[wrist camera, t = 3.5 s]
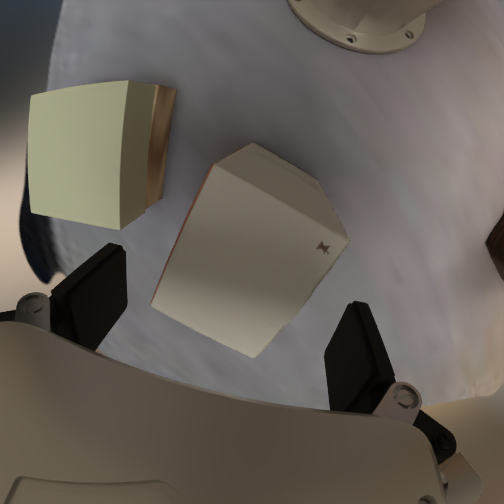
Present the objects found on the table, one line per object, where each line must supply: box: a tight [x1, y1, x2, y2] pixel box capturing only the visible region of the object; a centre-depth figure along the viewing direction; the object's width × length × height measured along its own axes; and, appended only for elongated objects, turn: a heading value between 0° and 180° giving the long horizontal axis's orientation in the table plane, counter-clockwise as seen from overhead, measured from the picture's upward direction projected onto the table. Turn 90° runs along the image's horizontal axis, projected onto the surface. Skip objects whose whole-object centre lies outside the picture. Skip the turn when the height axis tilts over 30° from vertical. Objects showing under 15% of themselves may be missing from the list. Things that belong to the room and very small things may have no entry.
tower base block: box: [145, 85, 177, 209], centre depth 21 cm, size 10×10×4 cm
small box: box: [150, 143, 350, 358], centre depth 18 cm, size 8×6×13 cm
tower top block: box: [28, 80, 156, 230], centre depth 17 cm, size 10×10×4 cm
